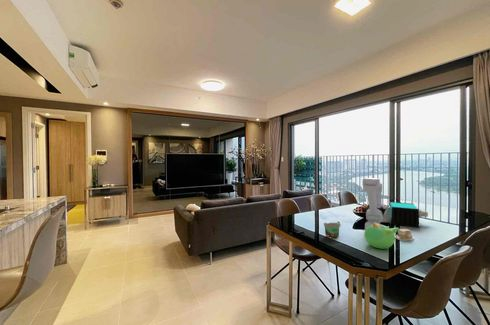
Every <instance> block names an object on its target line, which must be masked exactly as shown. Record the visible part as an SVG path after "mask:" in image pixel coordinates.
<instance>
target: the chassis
mask: <svg viewBox="0 0 490 325" xmlns="http://www.w3.org/2000/svg"><path fill="white" fill-rule="evenodd" d="M395 240H397V241H398V240H399V241H401V242H405V241H406V242H407V241H415V237H413V234H411V238H406V239H403V238H401V236H399V237H398V234H395Z"/></svg>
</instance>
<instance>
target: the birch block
mask: <svg viewBox="0 0 490 325" xmlns="http://www.w3.org/2000/svg"><path fill="white" fill-rule="evenodd" d="M397 235H398V237H399V236H401V238H403V239H406V238H411V235H412V231H411V230H410V229H408V228H399V230H398V231H397Z"/></svg>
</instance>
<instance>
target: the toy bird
mask: <svg viewBox="0 0 490 325" xmlns="http://www.w3.org/2000/svg"><path fill="white" fill-rule="evenodd" d="M399 229H400V228H399V227H393V228H390V227H388V226H386V225H384V224H381V223H380V224H378V223H376V222H374V224H373V225H370V226H368V227H367V229H366V230H365V229H364V239H365V241H366V243H367V244H369V245H370V247H371V246H372V247H373V248H376V249H381V250H385V249H389V248H391V247H392V246H393V245H394V243H395V240H396V238H395V236H396V233H398V230H399Z"/></svg>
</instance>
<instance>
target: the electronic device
mask: <svg viewBox="0 0 490 325" xmlns="http://www.w3.org/2000/svg"><path fill="white" fill-rule="evenodd" d="M389 208H391V222H390V223H391V225H394V226H403V227H411V228H416V229H417V228H420V218H422V217H423V218H427V217H429V213H428V211H425V210H421V209H419V208H418V207H417V206H416V205H415V203H412V202H411V203H410V202H396V201H389Z"/></svg>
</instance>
